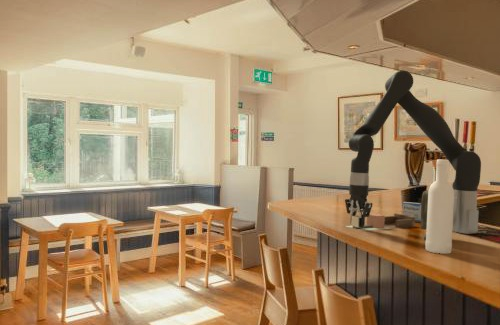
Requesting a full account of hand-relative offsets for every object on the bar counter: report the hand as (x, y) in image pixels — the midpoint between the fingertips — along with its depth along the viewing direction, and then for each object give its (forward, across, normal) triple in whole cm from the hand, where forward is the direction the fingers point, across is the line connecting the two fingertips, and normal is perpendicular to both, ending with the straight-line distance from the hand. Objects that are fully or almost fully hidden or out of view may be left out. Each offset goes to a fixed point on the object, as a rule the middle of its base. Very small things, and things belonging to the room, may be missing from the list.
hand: (357, 225), depth 172 cm
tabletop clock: (+2, -25, -16) cm, 30 cm away
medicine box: (+2, +7, -40) cm, 40 cm away
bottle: (+2, -38, 0) cm, 38 cm away
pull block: (+1, 0, -5) cm, 6 cm away
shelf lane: (+1, 0, -13) cm, 13 cm away
